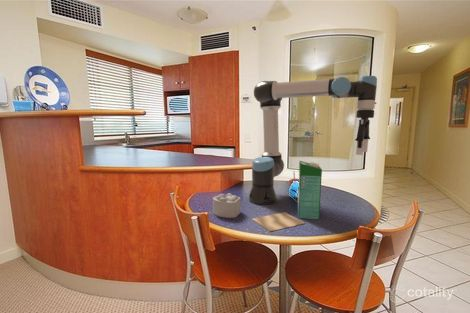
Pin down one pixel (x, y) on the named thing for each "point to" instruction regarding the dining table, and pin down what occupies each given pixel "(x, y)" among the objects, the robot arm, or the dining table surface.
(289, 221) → the wooden mat
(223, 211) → the lumpy-topped squat cylinder
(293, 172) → the cupcake
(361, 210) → the dining table surface
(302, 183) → the milk carton
